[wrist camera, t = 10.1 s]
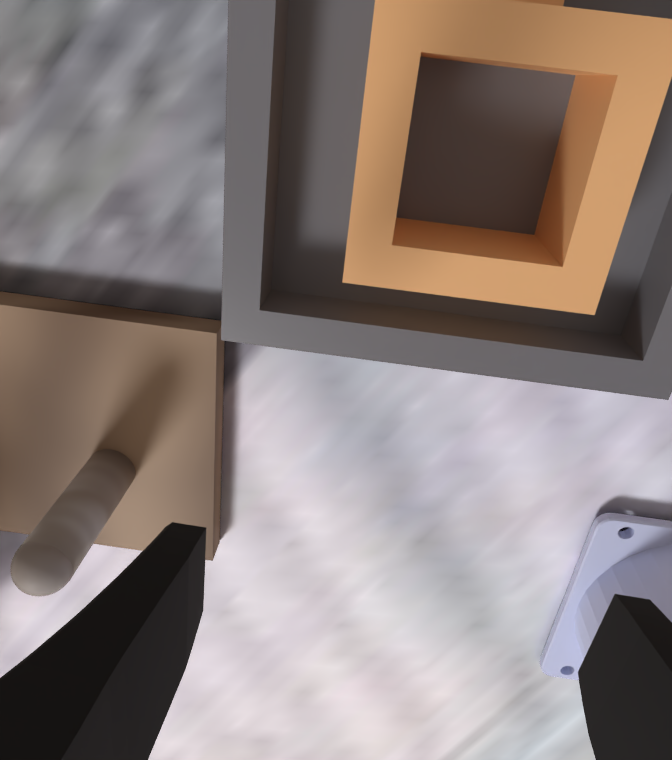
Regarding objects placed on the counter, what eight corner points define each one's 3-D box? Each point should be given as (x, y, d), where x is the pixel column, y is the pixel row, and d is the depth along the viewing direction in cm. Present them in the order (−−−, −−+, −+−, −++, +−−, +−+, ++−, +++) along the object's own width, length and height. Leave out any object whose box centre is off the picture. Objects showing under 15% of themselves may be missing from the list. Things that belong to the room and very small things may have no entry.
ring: (561, 276, 16) (594, 315, 14) (350, 248, 17) (342, 282, 14) (655, -49, 13) (722, -80, 10) (389, -79, 13) (388, -117, 11)
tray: (825, -152, 13) (916, -200, 10) (634, 360, 18) (668, 399, 16) (261, -214, 13) (234, -275, 11) (241, 308, 18) (220, 340, 16)
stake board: (225, 321, 19) (153, 426, 13) (219, 541, 23) (163, 693, 17) (-89, 279, 19) (-291, 365, 13) (-39, 504, 23) (-176, 643, 17)
